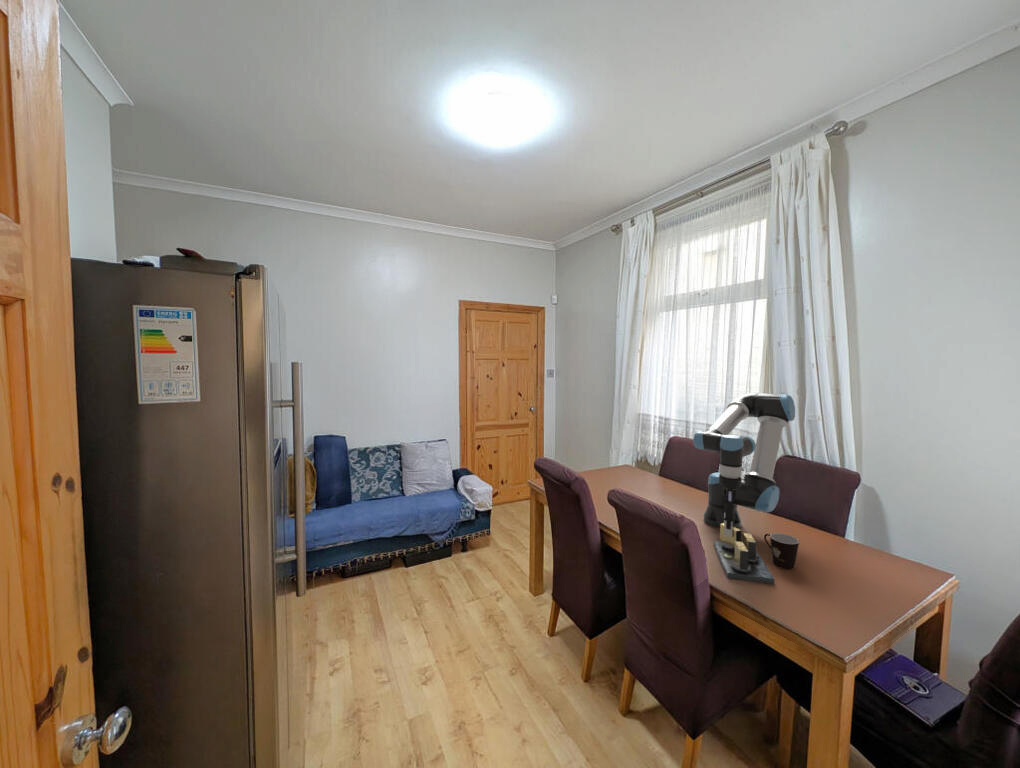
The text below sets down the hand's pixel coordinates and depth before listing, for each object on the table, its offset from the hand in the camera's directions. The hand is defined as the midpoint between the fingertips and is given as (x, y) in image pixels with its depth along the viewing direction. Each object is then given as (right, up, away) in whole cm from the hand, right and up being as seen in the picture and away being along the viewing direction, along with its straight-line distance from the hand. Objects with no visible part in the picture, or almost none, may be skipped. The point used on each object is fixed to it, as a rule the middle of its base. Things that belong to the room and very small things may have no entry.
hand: (727, 532), depth 150 cm
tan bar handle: (-4, -6, -16) cm, 18 cm away
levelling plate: (0, -8, -9) cm, 12 cm away
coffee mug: (+15, -8, -9) cm, 19 cm away
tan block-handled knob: (+1, -5, -1) cm, 5 cm away
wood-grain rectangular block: (+2, -6, -10) cm, 12 cm away
